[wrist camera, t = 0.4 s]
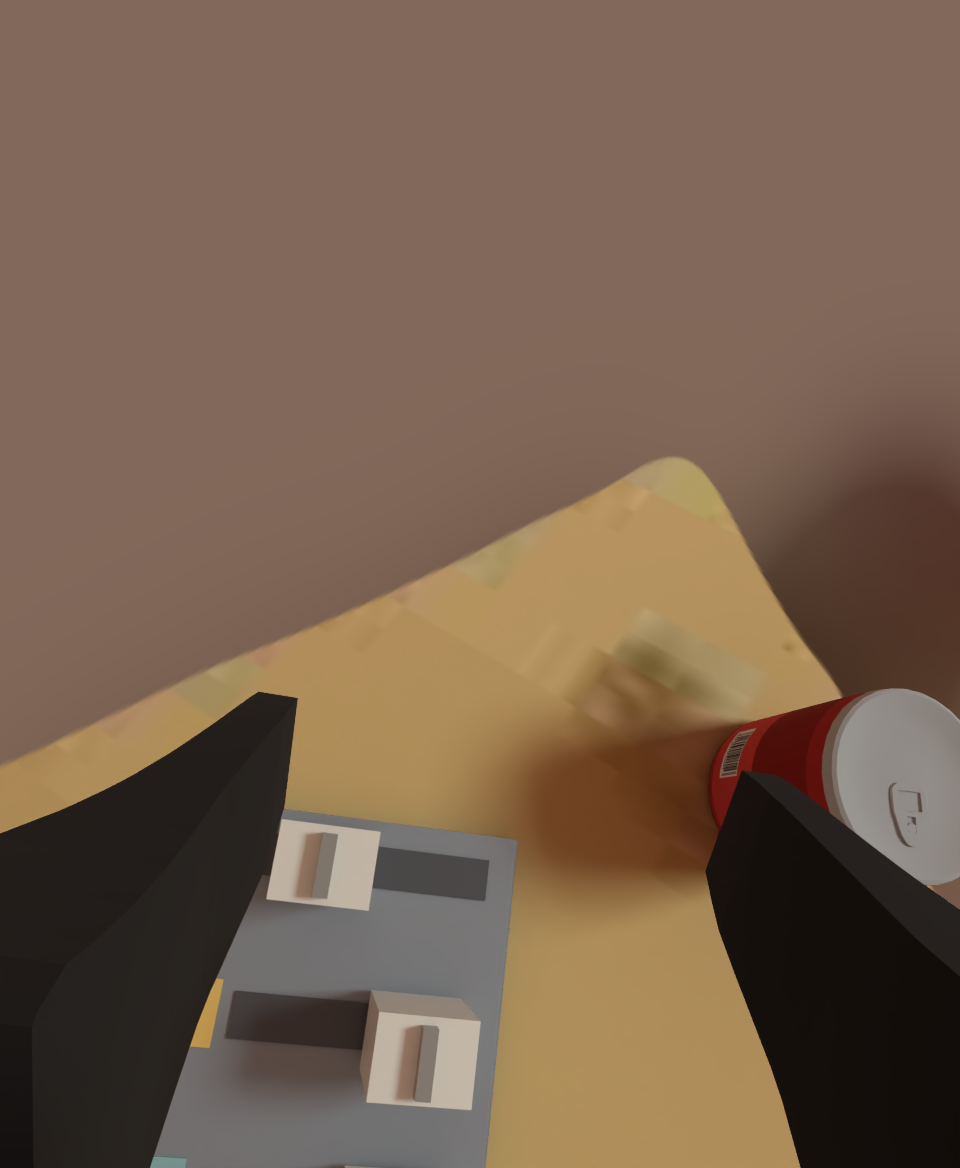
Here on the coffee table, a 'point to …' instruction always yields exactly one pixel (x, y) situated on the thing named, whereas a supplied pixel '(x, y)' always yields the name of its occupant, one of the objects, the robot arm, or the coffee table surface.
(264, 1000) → the switch panel
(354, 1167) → the slider
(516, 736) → the coffee table surface
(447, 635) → the coffee table surface
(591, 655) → the coffee table surface
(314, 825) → the slider
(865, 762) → the canned food
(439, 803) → the coffee table surface
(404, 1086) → the slider
